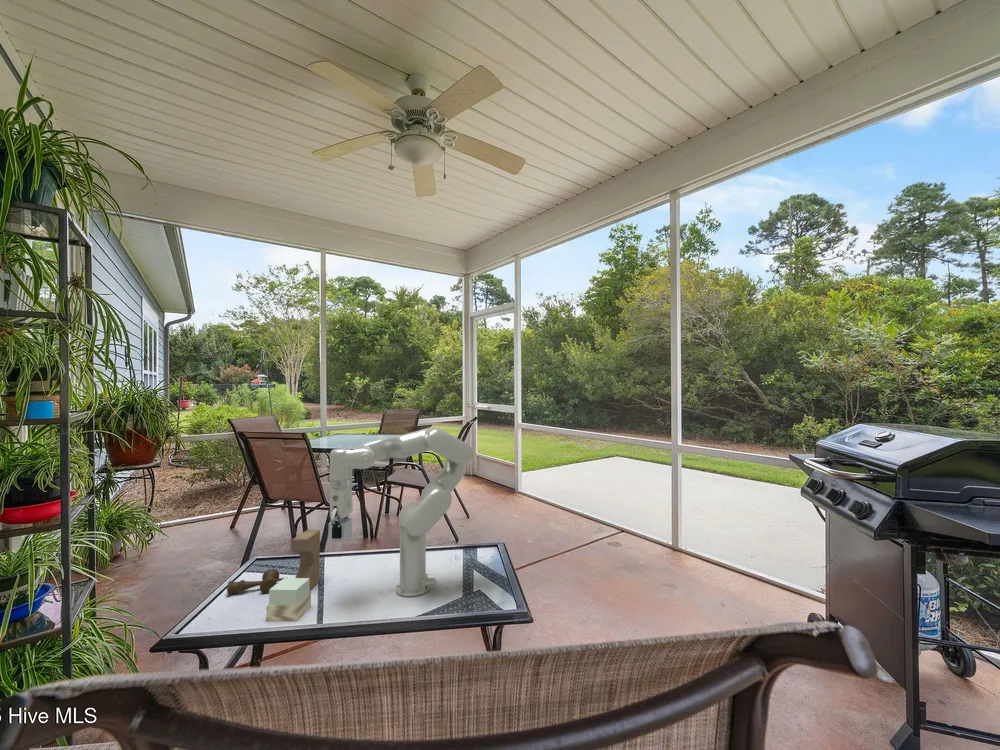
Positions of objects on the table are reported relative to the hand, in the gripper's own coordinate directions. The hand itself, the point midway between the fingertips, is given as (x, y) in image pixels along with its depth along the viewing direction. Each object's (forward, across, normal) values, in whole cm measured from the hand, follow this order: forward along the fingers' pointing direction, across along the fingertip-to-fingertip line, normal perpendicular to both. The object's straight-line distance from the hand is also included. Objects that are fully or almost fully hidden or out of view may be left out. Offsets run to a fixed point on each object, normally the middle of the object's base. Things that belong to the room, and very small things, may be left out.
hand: (340, 534), depth 152 cm
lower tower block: (+24, -7, +14) cm, 29 cm away
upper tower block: (+19, -7, +14) cm, 25 cm away
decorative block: (+24, +12, +17) cm, 32 cm away
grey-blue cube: (+1, 0, 0) cm, 1 cm away
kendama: (+24, +11, +35) cm, 44 cm away
